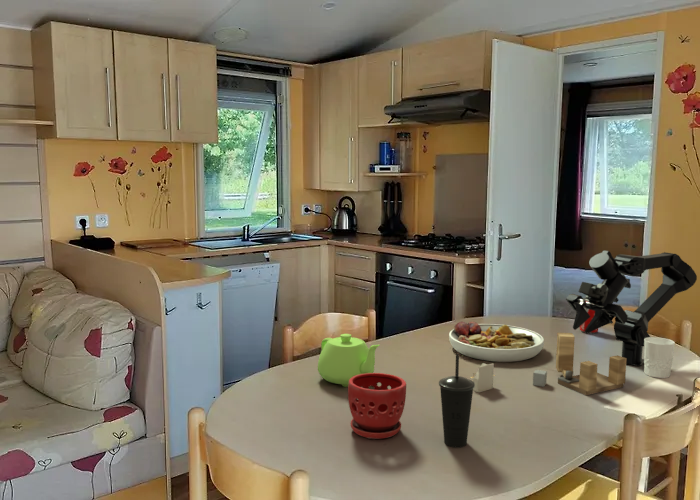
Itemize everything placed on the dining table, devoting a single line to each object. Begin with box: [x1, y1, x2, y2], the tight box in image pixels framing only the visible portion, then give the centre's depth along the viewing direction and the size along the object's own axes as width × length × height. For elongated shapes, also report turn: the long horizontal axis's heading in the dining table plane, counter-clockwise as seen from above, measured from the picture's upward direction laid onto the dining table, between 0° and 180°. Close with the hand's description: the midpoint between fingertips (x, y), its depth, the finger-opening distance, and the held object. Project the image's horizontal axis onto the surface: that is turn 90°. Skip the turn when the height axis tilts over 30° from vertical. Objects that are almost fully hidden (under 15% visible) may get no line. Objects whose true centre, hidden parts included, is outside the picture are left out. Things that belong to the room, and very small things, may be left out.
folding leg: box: [555, 332, 576, 380], centre depth 176 cm, size 10×4×10 cm, turn 171°
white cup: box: [643, 336, 676, 379], centre depth 180 cm, size 8×8×10 cm
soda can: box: [579, 297, 599, 334], centre depth 225 cm, size 6×6×12 cm
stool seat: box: [557, 354, 627, 396], centre depth 171 cm, size 14×10×8 cm
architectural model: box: [469, 362, 496, 393], centre depth 170 cm, size 3×7×7 cm, turn 125°
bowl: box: [448, 321, 545, 363], centre depth 204 cm, size 30×30×8 cm
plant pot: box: [347, 372, 407, 440], centre depth 142 cm, size 13×13×12 cm
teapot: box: [317, 333, 381, 388], centre depth 175 cm, size 22×15×13 cm
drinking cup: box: [438, 353, 475, 448], centre depth 136 cm, size 8×8×20 cm
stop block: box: [532, 369, 548, 388], centre depth 173 cm, size 3×3×4 cm
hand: (579, 330), depth 180 cm, fingers open, 4 cm apart
